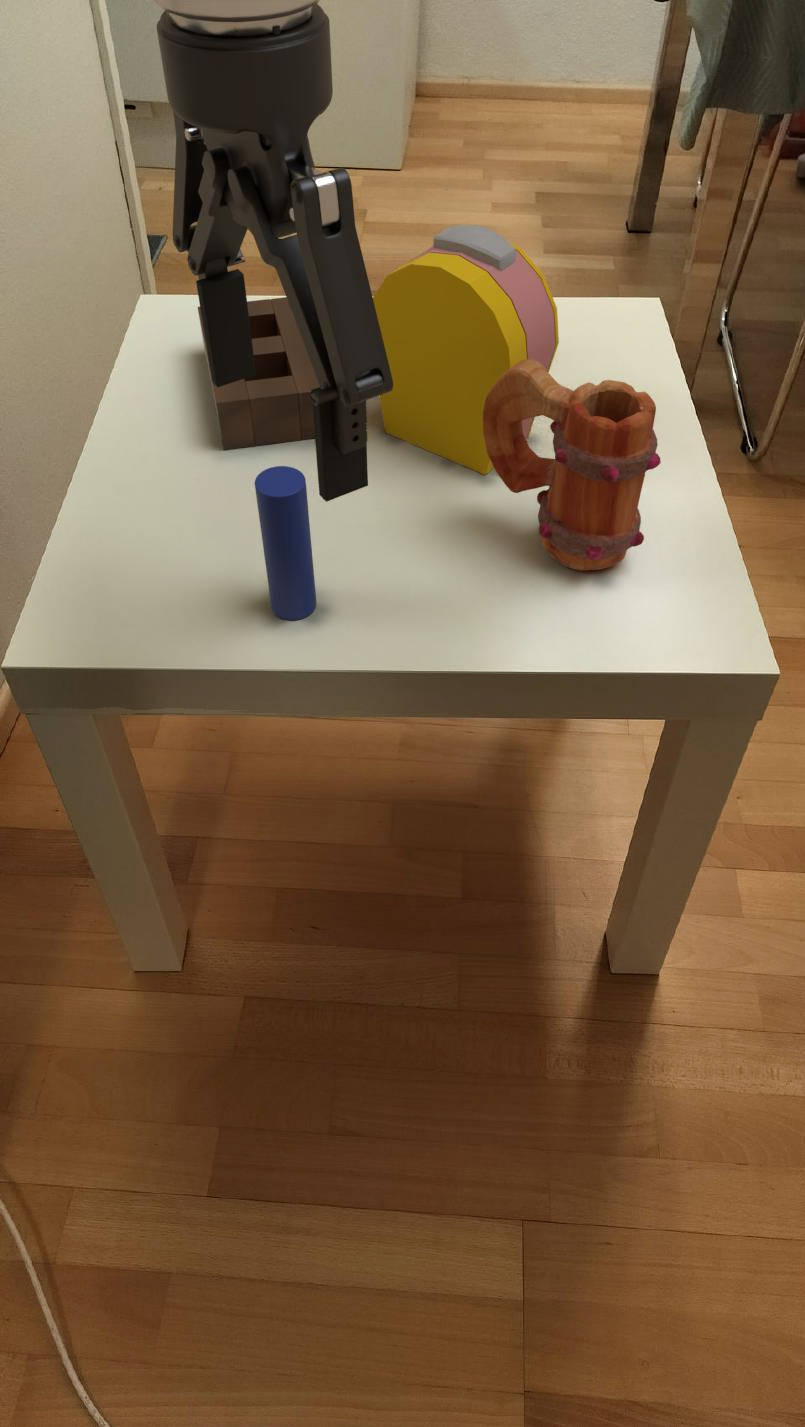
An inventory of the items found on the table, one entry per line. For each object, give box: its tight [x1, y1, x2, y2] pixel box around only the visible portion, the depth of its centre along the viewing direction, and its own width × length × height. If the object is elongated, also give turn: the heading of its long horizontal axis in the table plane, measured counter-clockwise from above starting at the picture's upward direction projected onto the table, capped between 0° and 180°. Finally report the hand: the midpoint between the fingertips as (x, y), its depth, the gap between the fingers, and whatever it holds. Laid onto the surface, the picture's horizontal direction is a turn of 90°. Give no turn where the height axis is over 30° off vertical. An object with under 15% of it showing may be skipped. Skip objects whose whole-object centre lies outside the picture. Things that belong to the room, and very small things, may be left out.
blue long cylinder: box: [254, 465, 317, 621], centre depth 75 cm, size 4×4×12 cm
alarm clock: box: [372, 224, 560, 476], centre depth 88 cm, size 15×8×18 cm, turn 54°
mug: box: [483, 359, 662, 571], centre depth 79 cm, size 15×8×15 cm, turn 58°
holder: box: [197, 296, 320, 451], centre depth 98 cm, size 10×18×5 cm, turn 13°
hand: (285, 431), depth 59 cm, fingers open, 13 cm apart
